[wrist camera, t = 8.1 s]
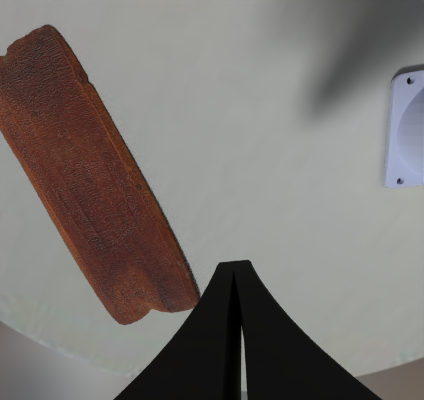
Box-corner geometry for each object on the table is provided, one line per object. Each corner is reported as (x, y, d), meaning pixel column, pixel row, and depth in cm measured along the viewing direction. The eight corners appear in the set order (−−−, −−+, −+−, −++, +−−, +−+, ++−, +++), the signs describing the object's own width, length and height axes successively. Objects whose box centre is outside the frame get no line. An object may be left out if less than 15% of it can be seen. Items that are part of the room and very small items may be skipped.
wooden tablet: (206, 298, 23) (204, 310, 21) (124, 320, 24) (117, 333, 23) (72, 14, 16) (54, 1, 14) (-31, 72, 17) (-57, 66, 16)
